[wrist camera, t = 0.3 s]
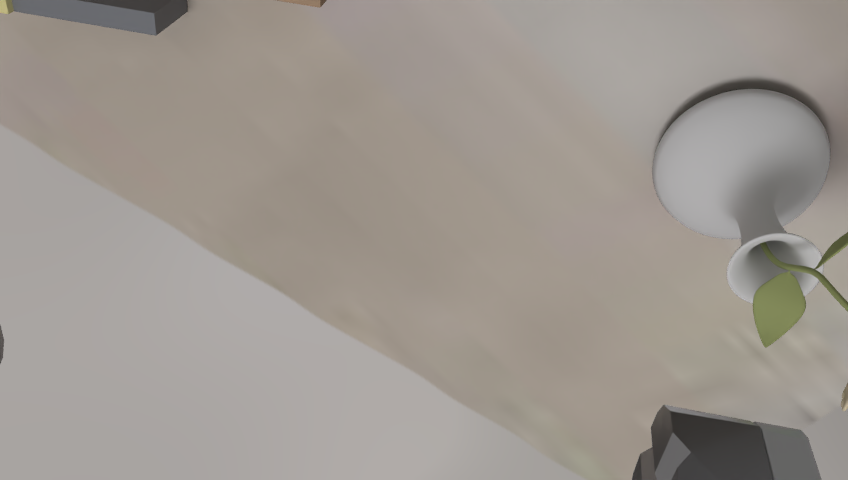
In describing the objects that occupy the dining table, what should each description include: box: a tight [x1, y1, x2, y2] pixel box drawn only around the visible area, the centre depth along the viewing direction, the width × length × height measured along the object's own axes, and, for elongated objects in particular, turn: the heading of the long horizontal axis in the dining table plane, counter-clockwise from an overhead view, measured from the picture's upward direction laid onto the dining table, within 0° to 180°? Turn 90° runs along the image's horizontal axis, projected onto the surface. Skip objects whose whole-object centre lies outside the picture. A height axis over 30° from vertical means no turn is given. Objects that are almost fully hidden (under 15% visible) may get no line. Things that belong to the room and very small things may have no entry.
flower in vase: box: [652, 89, 848, 411], centre depth 44 cm, size 13×11×25 cm
